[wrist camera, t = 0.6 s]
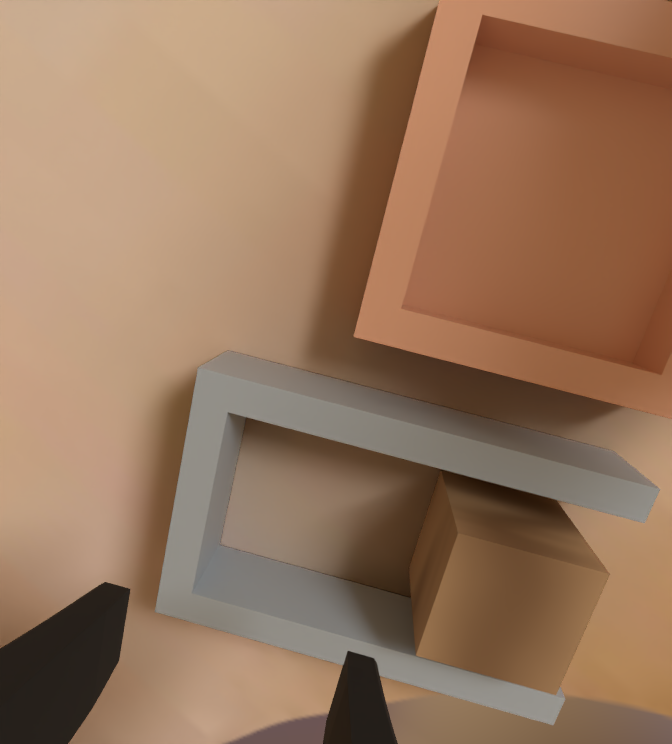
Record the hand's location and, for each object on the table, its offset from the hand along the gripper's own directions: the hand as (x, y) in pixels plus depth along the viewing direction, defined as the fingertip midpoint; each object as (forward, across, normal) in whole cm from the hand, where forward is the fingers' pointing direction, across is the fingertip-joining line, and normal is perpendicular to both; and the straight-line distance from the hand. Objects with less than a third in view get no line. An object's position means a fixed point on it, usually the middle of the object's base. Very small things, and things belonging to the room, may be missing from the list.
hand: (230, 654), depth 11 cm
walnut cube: (+8, -8, 0) cm, 11 cm away
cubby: (+8, -4, 0) cm, 9 cm away
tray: (+8, -6, -12) cm, 16 cm away
